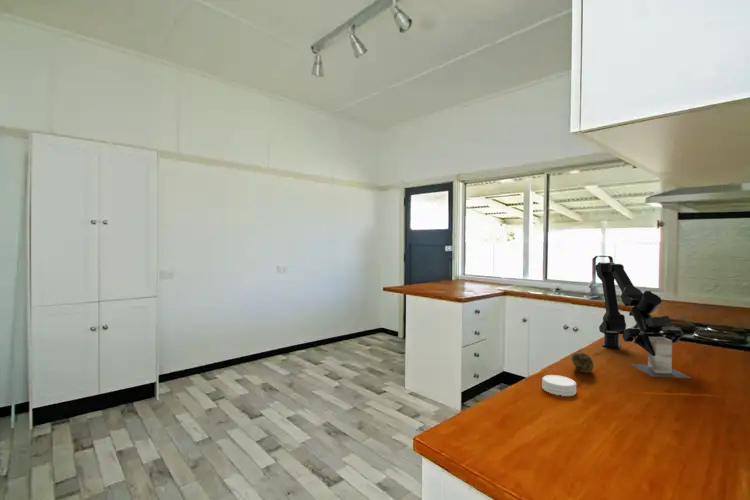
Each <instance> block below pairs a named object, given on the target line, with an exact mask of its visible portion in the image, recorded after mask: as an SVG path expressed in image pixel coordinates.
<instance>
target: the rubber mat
mask: <svg viewBox="0 0 750 500" xmlns="http://www.w3.org/2000/svg"><path fill="white" fill-rule="evenodd" d="M630 365H631V366H632V367H634V368H636V369H637V370H639V371H641V372H643V373H645V374H646V375H648V376H650V377H651V378H673V379H674V378H678V379H680V378H681V379H692V377H691V376H688V375H686V374H685V373H682V372H680V371H679V370H676V369H675V368H674V367H673V368H672V373H656V372H654V371H652V370H650V369H649V368H648V364H638V363H637V364H636V363H630Z"/></svg>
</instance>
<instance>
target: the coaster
mask: <svg viewBox="0 0 750 500" xmlns="http://www.w3.org/2000/svg"><path fill="white" fill-rule="evenodd" d="M541 380H542V382H541V383H542V384H541V385H542V386H541V387H542V389H543V391H545V392H547V393H548V392H549V394H551V395H554V394H555V395H554V396H559V395H561V396H560V397H572V396H575V395H576V394H577V382H576V381H575V380H573V379H572V378H569V377H567V376H564V375H563V376H562V375H559V374H558V375H557V374H548V375H544V376H543V377H542V378H541Z"/></svg>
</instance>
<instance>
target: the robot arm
mask: <svg viewBox="0 0 750 500" xmlns="http://www.w3.org/2000/svg"><path fill="white" fill-rule="evenodd" d="M594 270H595V272H596V276H597V277H598V278H599V280H601V284H602V291H603V298H604V300H603V301H604V307H605V313H604V315H602V316H603V317H602V322H601V324H600V325H599V327H598V328H599V332H600V333H601V334H603V335H604V336H603V339H604V341H603V344H602V345H601V346H602V347H605V348H611V349H618V350H619V349H620V348H621V344H620V335H622V338H623V339H622V340H623V341H624V342H626V343H627V342H629V343H631V342H632V343H634V344H635V345H638V346H639V347H641V348H642V349H643V350H645V351H646V352H647V353H648V352H649V353H650V354H651V355H652V356H655V352H654V350H653V348H652V346H651V344H650V342H649V337H664V338H667V339H669V340H672V344H675V343H677V342H678V341H680V340H681V339H682V338H683V336H684V334H683V332H682V330H680V329H679V328H678V329H675V328H672V329H670V328H668V329H666V331H665V332H661V331H663V328H664V327H668V326H669V325H671V324H672V319H671V318H670V317H669V315H663V316H652V315H651V313H653V312H655V311H656V309H657V308H658V307H659V306H660V305H661V303H662V299H661V297H660V296H658V295H657V294H655V293H653V292H652V291H651V290H645V291H644V292H642V290H641V289H639V288H637V287H636V286H634V283H633V282H632V280H631V279H630V277H629V276H628V274H627V272H626V270H625V268H624V265H623V264H621V263H615V262H611V261H610V262H609V261H608V262H607V261H606V262H605V261H603V262H602V261H601V262H598V263H597V264H596V265H595V269H594ZM615 283H616V284H617V286H618V287H619V289H620V291H621V295H620V298H621V301H622V304H623V305H624V306H625V307H632V308H631V309H630V311H629V312H628V315H629V317H630V316H632V317H633V319H634V321H635V323H636V324H635V325H634V326H635V327H634V328H633V327H632V328H629V327H628V328H627V324H626V323H627V322H626V317H625V315H624V314H622V313H621V312H620V311H619V304H618V298H617V291H616V284H615ZM626 328H627V329H626Z"/></svg>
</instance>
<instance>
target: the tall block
mask: <svg viewBox="0 0 750 500" xmlns="http://www.w3.org/2000/svg"><path fill="white" fill-rule="evenodd" d="M649 342H650V344H651V346H652V348H653V350H654V352H655V356H652V355H651V354H650V353H649V352H647V365H648V368H649V369H650V370H652V371H654V372H656V373H672V367H673V362H672V359H673V343H672V340H669V339H667V338H664V337H649Z"/></svg>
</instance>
